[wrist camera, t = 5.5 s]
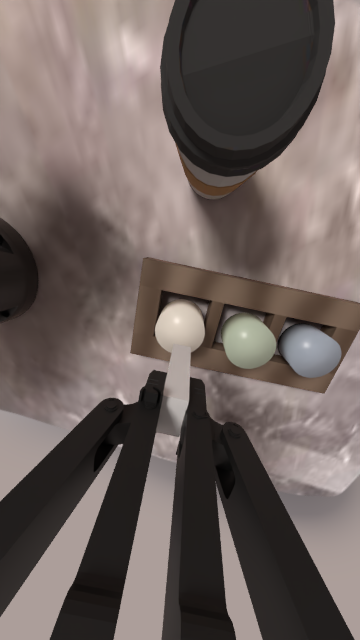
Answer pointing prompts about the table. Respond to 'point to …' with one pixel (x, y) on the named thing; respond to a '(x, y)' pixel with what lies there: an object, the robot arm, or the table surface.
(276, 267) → the table surface
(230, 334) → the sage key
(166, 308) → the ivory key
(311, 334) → the pale blue rounded knob
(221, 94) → the coffee cup
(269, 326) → the wooden tray
